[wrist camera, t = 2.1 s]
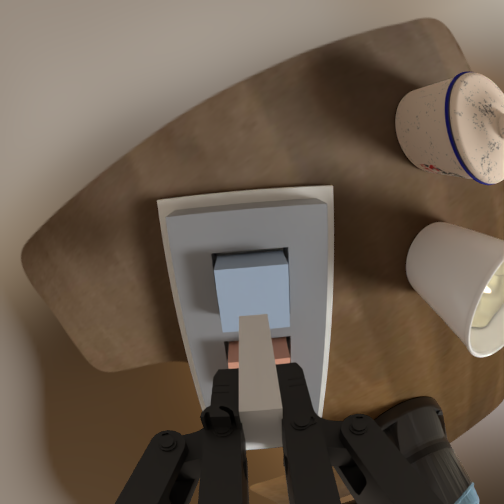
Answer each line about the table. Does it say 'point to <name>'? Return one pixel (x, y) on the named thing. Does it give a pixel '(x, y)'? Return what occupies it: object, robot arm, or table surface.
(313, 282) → the key console
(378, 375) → the table surface
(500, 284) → the candle holder
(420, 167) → the teacup with lid
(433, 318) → the table surface
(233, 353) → the terracotta key
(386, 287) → the table surface
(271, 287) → the blue key
